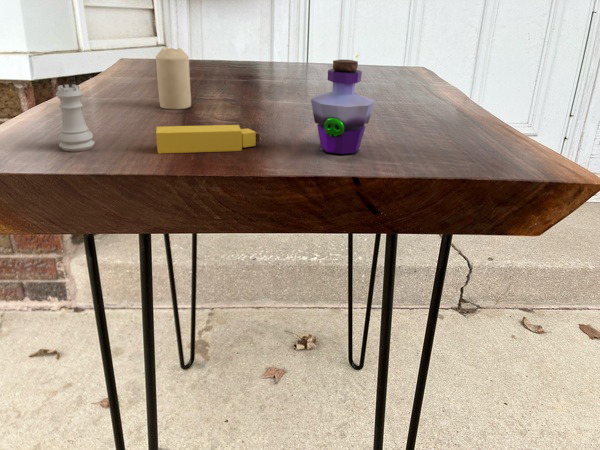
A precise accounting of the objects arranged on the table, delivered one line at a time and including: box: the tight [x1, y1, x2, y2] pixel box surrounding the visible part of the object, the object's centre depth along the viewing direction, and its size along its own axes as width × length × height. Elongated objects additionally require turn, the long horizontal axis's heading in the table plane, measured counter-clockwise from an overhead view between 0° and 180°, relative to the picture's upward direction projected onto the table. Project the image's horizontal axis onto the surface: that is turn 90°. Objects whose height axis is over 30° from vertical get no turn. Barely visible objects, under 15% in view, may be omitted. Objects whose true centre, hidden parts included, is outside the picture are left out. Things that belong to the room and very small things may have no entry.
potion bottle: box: [310, 59, 376, 157], centre depth 71 cm, size 9×9×12 cm
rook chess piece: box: [55, 84, 96, 153], centre depth 68 cm, size 4×4×8 cm
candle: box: [155, 46, 192, 110], centre depth 92 cm, size 6×6×10 cm
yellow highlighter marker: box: [155, 124, 260, 155], centre depth 71 cm, size 14×4×3 cm, turn 102°
